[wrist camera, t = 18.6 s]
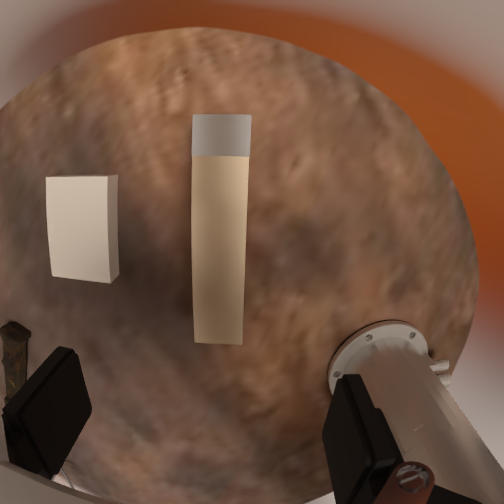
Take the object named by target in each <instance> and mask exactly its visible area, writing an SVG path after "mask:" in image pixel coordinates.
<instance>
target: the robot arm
mask: <svg viewBox="0 0 504 504" xmlns="http://www.w3.org/2000/svg"><path fill="white" fill-rule="evenodd" d="M448 368H449V361H448V359H442V360H437V361H433V360H432V359H431V358H430V357H429V355H428V347H427V342H426V340H425V338H424V336H423V335H422V334H421V333H420V331H419V330H418V329H417V328H415V327H414V326H413V325H411V324H409V323H406V322H403V321H397V320H395V321H383V322H379V323H375V324H373V325H370V326H367V327H365V328H364V329H362V330H360V331H358V332H357V333H355V334H354V335H353V336H351V337H350V338H349V339H348V340H347V341H346V342H345V343H344V344H343V345H342V346H341V347H340V348H339V349H338V351H337V352H336V354H335V355H334V357H333V359H332V361H331V363H330V367H329V370H328V383H329V387H330V390H331V393H332V395H333V396H332V400H331V404H330V407H329V411H328V414H327V418H326V421H325V424H324V428H323V433H322V437H323V443H324V447H325V452H326V457H327V462H328V466H329V471H330V476H331V481H332V486H333V491H334V496H335V500H336V504H504V470H503V468H502V467H501V466H500V464H499V463H498V462H497V460H496V459H495V457H494V456H493V455H492V453H491V452H490V450H489V449H488V448H487V446H486V445H485V443H484V442H483V440H482V439H481V437H480V436H479V434H478V433H477V431H476V430H475V429H474V428H473V426H472V425H471V423H470V422H469V420H468V419H467V417H466V416H465V414H464V413H463V412H462V410H461V409H460V407H459V406H458V405H457V403H456V402H455V401H454V399H453V398H452V396H451V395H450V393H449V392H448V391H447V389H446V388H445V387H448V386H449V385H450V383H451V376H450V374H449V373H448V372H446V373H440V374H435V373H434V371H443V370H447V369H448ZM2 410H3V412H4V413H3V414H2V415H0V504H121V503H118V502H114V501H110V500H107V499H103V498H100V497H97V496H93V495H90V494H87V493H84V492H81V491H78V490H75V489H72V488H70V487H67V486H64V485H61V484H59V483H56V482H54V481H51V480H52V478H53V476H54V474H55V475H56V474H58V473H59V471H60V469H61V467H62V465H63V464H64V462H65V460H66V458H67V456H68V454H69V452H70V451H71V449H72V447H73V445H74V443H75V442H76V440H77V438H78V436H79V434H80V433H81V431H82V429H83V427H84V425H85V424H86V422H87V420H88V418H89V417H90V415H91V412H92V406H91V402H90V399H89V395H88V392H87V388H86V385H85V381H84V377H83V373H82V369H81V365H80V361H79V357H78V355H77V354H76V353H75V351H74V350H73V349H70V348H66V347H61V346H59V347H57V348H56V349H55V350H54V351H53V353H52V354H51V355H50V356H49V357H48V358H47V359H46V360H45V361H44V362H43V363H42V365H41V366H40V367H39V368H38V369H37V370H36V371H35V372H34V373H33V375H32V376H31V377H30V378H29V379H28V380H27V381H26V382H25V384H24V385H23V386H22V387H21V388H20V389H19V390H18V392H17V393H16V394H15V395H14V396H13V397H12V399H11V400H10V401H9V402H8V403H7V404H6V406H5V407H4V408H3V409H2ZM38 474H39V475H38ZM41 476H42V477H41Z"/></svg>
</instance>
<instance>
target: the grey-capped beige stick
mask: <svg viewBox="0 0 504 504" xmlns="http://www.w3.org/2000/svg"><path fill="white" fill-rule="evenodd" d="M250 138H251V115H234V114H193V125H192V154H191V156H192V202H191V233H192V288H193V316H194V337H195V343H212V344H233V345H242V342H243V311H244V280H245V251H246V223H247V196H248V170H249V157H250Z"/></svg>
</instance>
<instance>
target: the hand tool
mask: <svg viewBox="0 0 504 504" xmlns="http://www.w3.org/2000/svg"><path fill="white" fill-rule="evenodd" d="M0 334H1V337H2V340H3V351H4V355H3V359H2V363H3V365H4V370H5V383H6V394H7V395H6V397H5V398H4V401H5V406H6V404H7V403H8V402H9V401H10V400H11V399H12V397H13V396H14V395H15V394H16V393H17V392H18V390H19V389H20V388H21V387H22V386H23V385H24V384H25V382H26V359H27V358H26V342H27V340H28V339H29V338H30V337H31V334H30V331H29V330H28V329H26V328H25V327H23V326H22V325H20V324H19V323H16V322H9V323H8V324H6V325H3V326H2V327H1V328H0Z"/></svg>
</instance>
